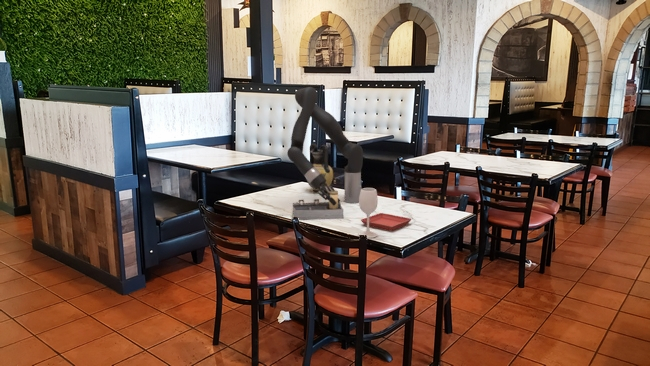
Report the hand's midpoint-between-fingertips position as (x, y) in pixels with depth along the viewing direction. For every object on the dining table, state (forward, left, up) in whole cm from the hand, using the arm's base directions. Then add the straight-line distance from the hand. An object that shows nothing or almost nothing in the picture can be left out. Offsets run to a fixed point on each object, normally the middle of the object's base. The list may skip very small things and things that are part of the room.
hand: (337, 203), depth 254 cm
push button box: (+10, -3, -7) cm, 12 cm away
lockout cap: (+2, -1, -4) cm, 5 cm away
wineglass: (-9, +33, -7) cm, 35 cm away
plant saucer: (-21, +18, -8) cm, 29 cm away
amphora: (+3, -59, -7) cm, 60 cm away
